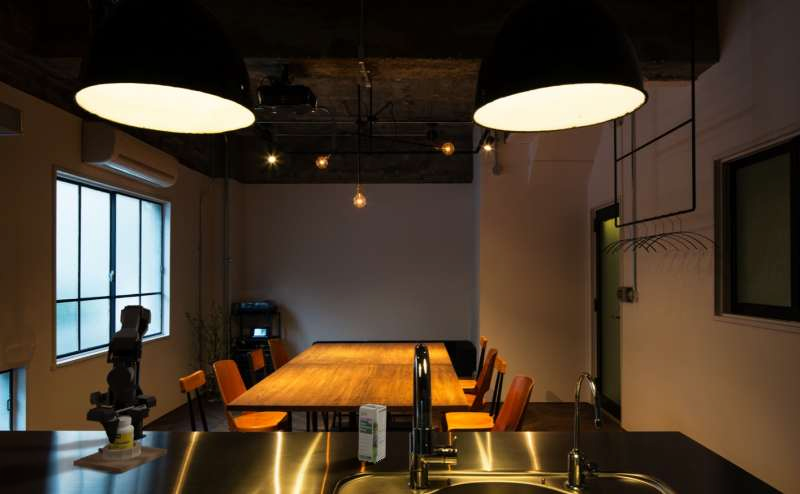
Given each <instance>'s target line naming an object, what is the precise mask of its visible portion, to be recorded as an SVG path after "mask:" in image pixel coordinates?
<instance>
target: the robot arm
mask: <svg viewBox="0 0 800 494" xmlns="http://www.w3.org/2000/svg"><path fill="white" fill-rule="evenodd" d="M119 322H120V324H121V326H120V329H119V330H117V331H116V332H114V333H113V336H112V339H110V340H109V343H108V350H107V357H106V364H112V368H111V369H110V371H109V372H108V373H107V376H106V383H107V385H108V387H107V391H106V392H104V393H102V392H101V391H99V390H98V391H94V392H92V393H90V394H89V395H90V396H89V402H90V403H89V404H90V405H91V406H95V407H94V408H89V409H88V410H87V412H86V421H90V422H95V423H100V425H101V426H102V427H103V429H104V432H105V434H106V437H107V440H108V442H109V444H114V442H115V439H116V434H117V430H118V425H119V421H120V419H117V418H119V417H131V424H130V425H132V426H133V427H134V436H133V441H139V440H140V439H144V438H146V437H147V436H148V435H147V434H145V433H143V431H144V429H143V427H144V420H145V419H146V418H149V417H150V411H151V408H154V407H157V398H156V397H155V395H150V394H149V395H147V394H146V393H145V392H144V390H143V388H142V386H141V367H142V357H143V351H144V343H143V338H144V336H145V335H146V334H147V333H148V331H149V325H150V324H151V323H152V312H151V309H148V308H146V307H144V306H143V305H141V304H127V305H125V306H124V308H123V309H121V310H120V320H119Z"/></svg>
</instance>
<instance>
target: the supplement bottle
mask: <svg viewBox="0 0 800 494" xmlns="http://www.w3.org/2000/svg"><path fill="white" fill-rule="evenodd" d="M117 419H120V421H119V425H118V430H117V434H116V439H115V442H114V444H111V450H123V449H129V448H132V447H133V436H134V427H133V426H132V425H130V424H131V417H119V418H117Z"/></svg>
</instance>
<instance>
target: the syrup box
mask: <svg viewBox="0 0 800 494" xmlns="http://www.w3.org/2000/svg"><path fill="white" fill-rule="evenodd" d="M358 409H359V410H358V411H359V412H358V413H359V417H358V418H359V419H358V455H357V456H358V459H359V460H358V461H362V460H363V461H362V462H367V461H368V462H367V463H371V462H373V463H372V464H377V463H379V462H380V461H382V460H383V459H385V458H386V446H387V445H386V443H387V442H386V439H387V437H386V435H387V432H386V430H387V405H380V404H374V403H373V404H372V403H366V404H363V405H361V406H360V407H359V408H358ZM381 459H382V460H381ZM379 460H380V461H379ZM378 461H379V462H378ZM376 462H377V463H376Z"/></svg>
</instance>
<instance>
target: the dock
mask: <svg viewBox="0 0 800 494" xmlns="http://www.w3.org/2000/svg"><path fill="white" fill-rule="evenodd" d="M167 454H168V449H167V448H160V447H159V448H158V447H152V446H145V445H142V443H141V442H140V441H139V440H135V441H133V447H132V448H129V449H123V450H111V444H110V443H109V444H105V445H104V446H103V447H99V448H98V449H97V452H94V453H91V454H88V455H86V456H84V457H80V458H77V459H75V460H73V461H72V462H73V466H74V467H79V468H85V469H91V470H97V471H102V472H108V473H109V472H110V473H112V474H113V473H115V474H120V475H121V474H125V473H126V472H128V471H131V470H133V469H135V468H137V467H140V466H142V465H144V464H147V463H149V462H153V461H154V460H156V459H159V458H162V457H164V456H166V455H167Z"/></svg>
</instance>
